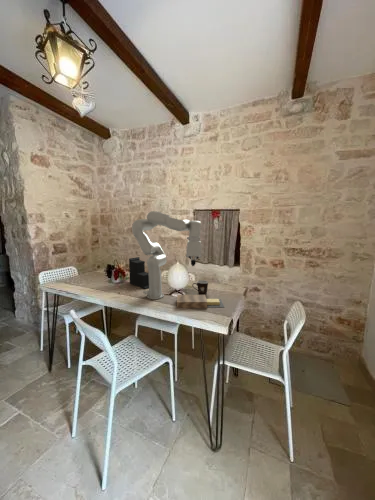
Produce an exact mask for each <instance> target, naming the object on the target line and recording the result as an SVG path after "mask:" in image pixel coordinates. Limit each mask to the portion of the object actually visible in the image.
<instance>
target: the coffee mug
mask: <svg viewBox="0 0 375 500" xmlns="http://www.w3.org/2000/svg"><path fill="white" fill-rule="evenodd" d="M191 285H192V288H193V289H194V290H195V291H197V292H198V294H197V295H205V296H207V294H208V287H209V286H208V285H209V281H208V280H202V279H201V280H197V281H196V282H193V284H191ZM194 285H196V286H197V288H196V287H194Z"/></svg>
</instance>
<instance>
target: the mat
mask: <svg viewBox="0 0 375 500" xmlns="http://www.w3.org/2000/svg"><path fill="white" fill-rule="evenodd" d="M218 299H219V301H220V305H207V308H211V309H213V308H214V309H215V308H216V309H217V308H219V309H220V308H225V305H224V303H223V301H222V299H220V298H218Z"/></svg>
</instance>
